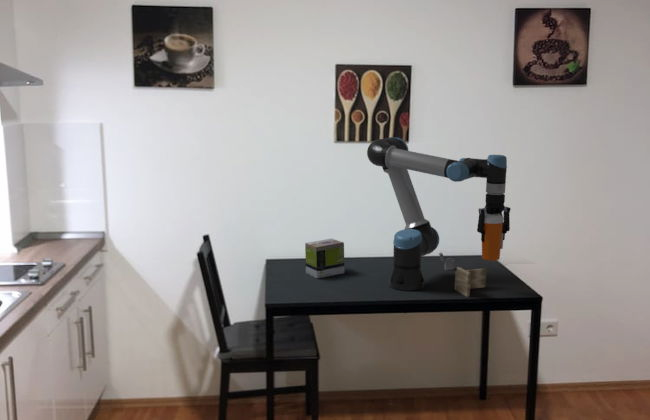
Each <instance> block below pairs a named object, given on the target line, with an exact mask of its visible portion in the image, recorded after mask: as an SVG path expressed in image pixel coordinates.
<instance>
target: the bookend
mask: <svg viewBox="0 0 650 420" xmlns="http://www.w3.org/2000/svg"><path fill="white" fill-rule="evenodd" d="M454 273H455V274H454V291H456V292H458V293H459V294H461V295H463V296H464V297H466V298H468V297H471V296H470V293H471V289H480V288H486V284H487V268H485V267H484V268H482V267H481V268H473V269H464V268H462V267H460V266H457V267H456V270H455V271H454Z"/></svg>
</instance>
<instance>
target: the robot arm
mask: <svg viewBox="0 0 650 420" xmlns="http://www.w3.org/2000/svg"><path fill="white" fill-rule="evenodd" d="M366 154H367V155H366V156H367V158H368V159H367V160H369V162H370V163H371V164H373V165H374V166H377V167H382V170H383V172H384V173H386V174H388V177H389V180H390V183H391V186H392V188H393V192H394V195H395V198H396V200H397V203H398V206H399V208H400V211H401V213H402V217H403V221H404V224H405V227H404V229H401V230H398V231H397V232H395V233H394V238H393V256H392V257H393V264H392V265H393V266H392V270H391V273H390V276H389V278H388V286H389V287H390V288H392V289H395V290H399V291H405V292H406V291H407V292H409V291H410V292H411V291H418V290H422V289H424V288H425V278H424V275H423V271H422V258H423V257H424V256H427V255H429V254H432V253H433V252H435V250H436V249H437V248H438V247H439V244H440V235H439V232H438V231H437V229H436V228H434V227H432V224H431V223H430V222H431V221H429V220H428V219H426V218H425V216H424V213H423V210H422V208H421V205H420V202H419V199H418V196H417V193H416V191H415V188H414V185H413V182H412V179H411V176H410V174H409V173H410V172H409V171H412V172H413V171H414V172H419V173H424V174H427V175H432V176H437V177H442V178H447V179H449V180H451V181H452V182H454V183H455V182H456V183H457V182H463V181H465V180H468V179H473V178H482V179H486V180H485V181H486V184H485V185H486V186H485V192H486V194H485V206H484V207H483V208H480V207H479V208H478V221H477V222H478V223H477V229H476V231H477V232H478V233H479V234H480V235H481V237H480V238H481V239H480V240H481V243H482V242H484V234H485V231H483V227H484V219H485V213H486V212H488V214H491V215H493V214H496V213H492V212H495V211H499V212H500V211H501V213H500V215H502V216H503V226H502V237H501V248H500V250H503V249H504V241H505V237H506V234H507V233H508V232H510V230H511V228H510V212H511V207H509V206H505V202H506V194H505V193H506V182H507V181H506V180H507V169H508V166H507V163H508V161H507V159H508V158H507V157H506V156H505V155H503V154H489V155H488V156H487V158H486V159H485V158H484V159H483V158H482V159H481V158H472V157H462V158H460V159H459V160H455V159H451V158H447V157H446V158H445V157H441V156H436V155H430V154H426V153H420V152H416V151H411V150H409V146H408V145H407V143H406V142H405V140H403V139H402V138H401V137H394V136H393V137H392V136H390V137H386V138H385V137H384V138H378V139H374V140H372V142H371V143H370V144H369V145H368V147H367V151H366ZM408 170H409V171H408ZM485 211H486V212H485ZM477 232H476V233H477Z"/></svg>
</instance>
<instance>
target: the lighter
mask: <svg viewBox="0 0 650 420" xmlns="http://www.w3.org/2000/svg"><path fill="white" fill-rule="evenodd" d="M438 255H439V257H440V260H441V261H442V263H444V270H445V271H447V270H449V271H451V270H453V271H454V270H455V259H453V258H452V257H447V259H445V256H444V254H443V252H439V253H438Z"/></svg>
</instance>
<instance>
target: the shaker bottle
mask: <svg viewBox="0 0 650 420" xmlns="http://www.w3.org/2000/svg"><path fill="white" fill-rule="evenodd" d="M485 212H486V211H485ZM492 213H496V214H493V215H491V214H488V212H486V213H485V219H484V227H483V231H485V234H484V242H482V241H481V258H482V260H485V261H490V262H491V261H493V262H494V261H499V260H500V258H501V257H500V256H501V249H500V248H501V237H502V226H503V222H504V215H503V214H502V215H503V216H502V215H500V213H501V211H500V212H499V211H495V212H492Z"/></svg>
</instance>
